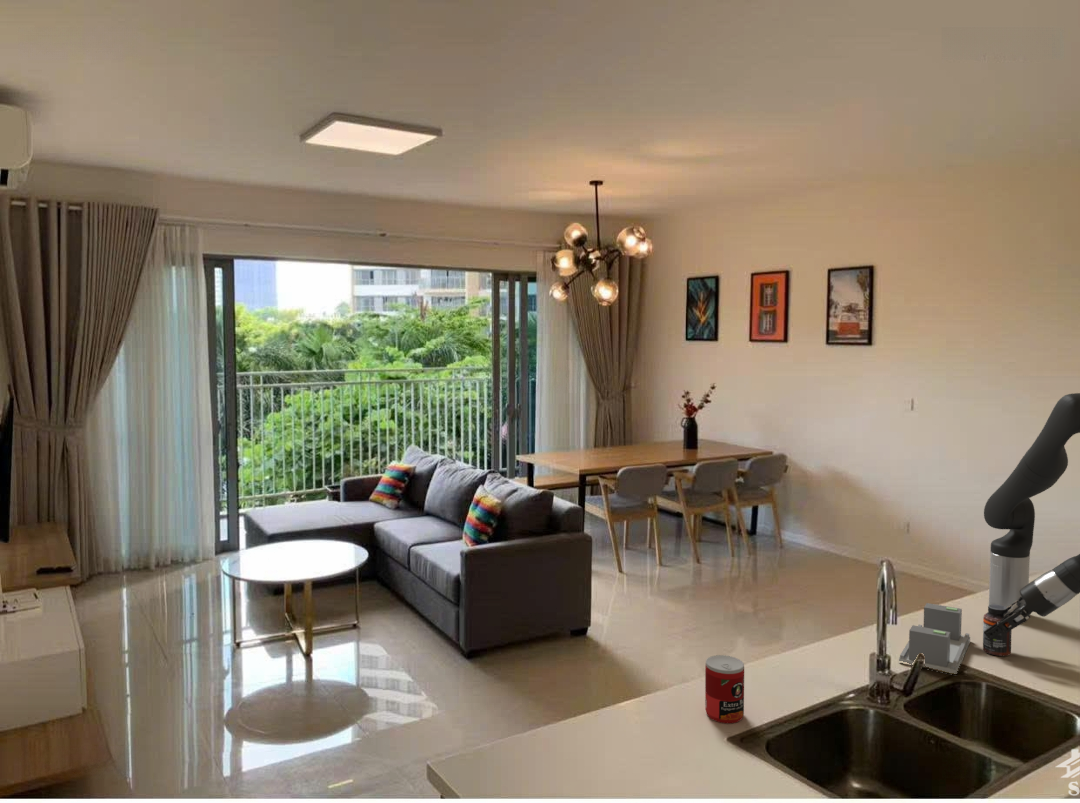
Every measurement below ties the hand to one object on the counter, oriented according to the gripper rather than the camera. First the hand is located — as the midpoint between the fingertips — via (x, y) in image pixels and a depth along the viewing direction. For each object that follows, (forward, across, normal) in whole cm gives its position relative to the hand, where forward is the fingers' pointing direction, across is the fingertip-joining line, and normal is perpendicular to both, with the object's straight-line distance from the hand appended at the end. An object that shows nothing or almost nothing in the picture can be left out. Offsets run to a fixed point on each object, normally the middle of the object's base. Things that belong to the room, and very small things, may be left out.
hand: (988, 631), depth 190 cm
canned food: (+32, +67, -25) cm, 78 cm away
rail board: (+11, +8, -4) cm, 14 cm away
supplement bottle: (+2, 0, +5) cm, 5 cm away
